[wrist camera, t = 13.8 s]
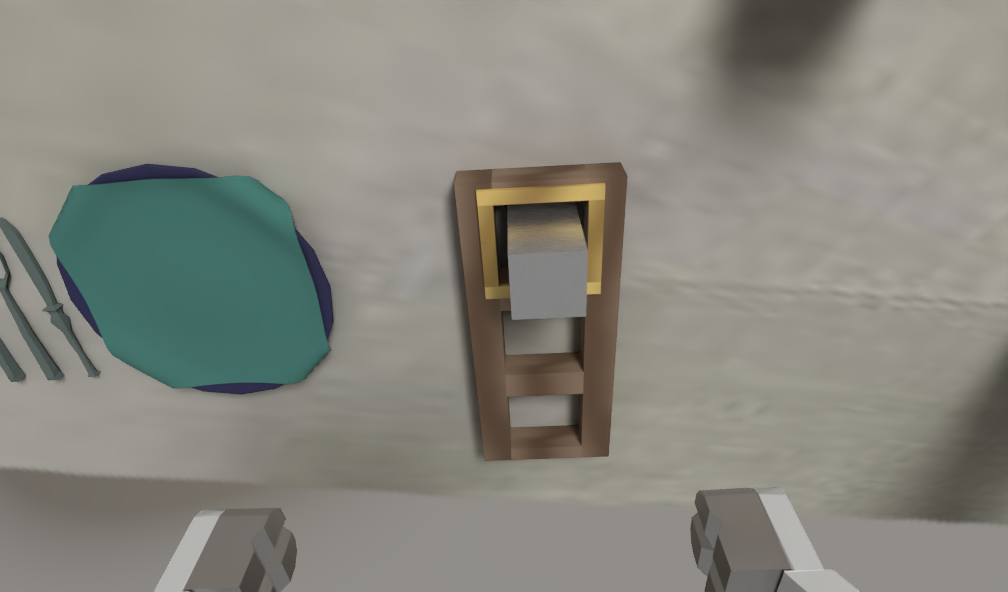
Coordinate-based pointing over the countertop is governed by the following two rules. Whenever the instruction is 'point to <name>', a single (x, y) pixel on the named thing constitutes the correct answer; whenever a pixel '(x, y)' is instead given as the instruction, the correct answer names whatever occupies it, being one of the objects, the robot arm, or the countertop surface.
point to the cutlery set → (183, 280)
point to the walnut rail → (492, 296)
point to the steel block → (546, 261)
